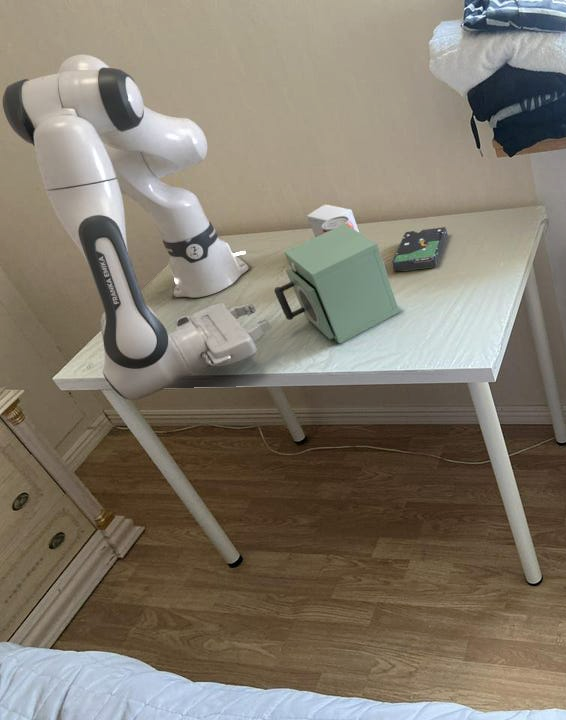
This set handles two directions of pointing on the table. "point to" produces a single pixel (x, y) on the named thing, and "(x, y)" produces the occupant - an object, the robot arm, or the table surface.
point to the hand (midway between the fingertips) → (261, 315)
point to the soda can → (336, 223)
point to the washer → (345, 280)
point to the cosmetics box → (328, 217)
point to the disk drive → (420, 249)
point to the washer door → (304, 303)
